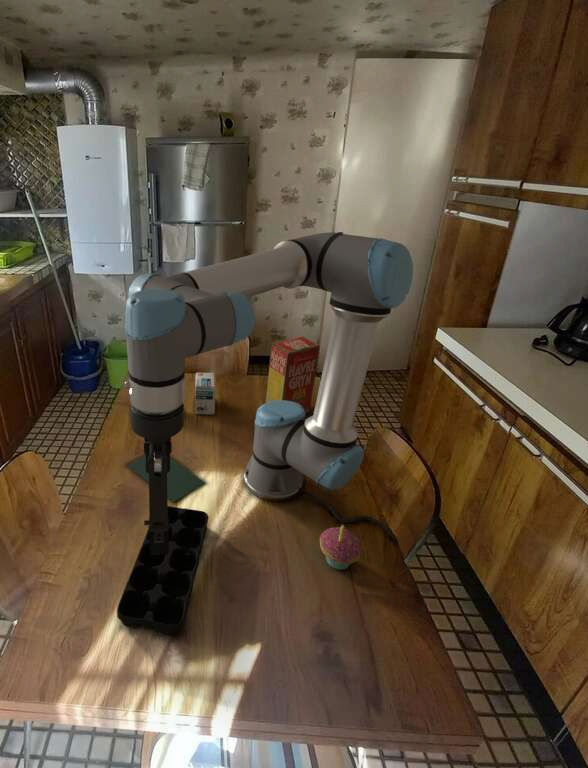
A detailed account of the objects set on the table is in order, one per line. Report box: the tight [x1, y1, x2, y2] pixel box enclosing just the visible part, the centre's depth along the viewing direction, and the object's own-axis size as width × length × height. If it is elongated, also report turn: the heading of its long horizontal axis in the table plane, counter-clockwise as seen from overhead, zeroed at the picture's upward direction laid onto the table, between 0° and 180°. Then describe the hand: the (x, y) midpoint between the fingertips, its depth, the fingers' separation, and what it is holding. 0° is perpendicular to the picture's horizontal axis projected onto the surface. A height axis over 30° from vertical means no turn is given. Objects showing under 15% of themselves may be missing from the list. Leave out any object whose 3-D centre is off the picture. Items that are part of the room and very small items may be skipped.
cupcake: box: [319, 524, 363, 571], centre depth 91 cm, size 9×8×12 cm
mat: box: [126, 452, 206, 504], centre depth 118 cm, size 20×11×1 cm, turn 44°
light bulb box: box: [194, 372, 216, 415], centre depth 148 cm, size 11×7×11 cm, turn 179°
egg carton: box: [116, 505, 209, 637], centre depth 90 cm, size 18×30×4 cm, turn 1°
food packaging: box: [265, 336, 321, 414], centre depth 144 cm, size 13×9×25 cm
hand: (159, 518), depth 70 cm, fingers open, 13 cm apart
